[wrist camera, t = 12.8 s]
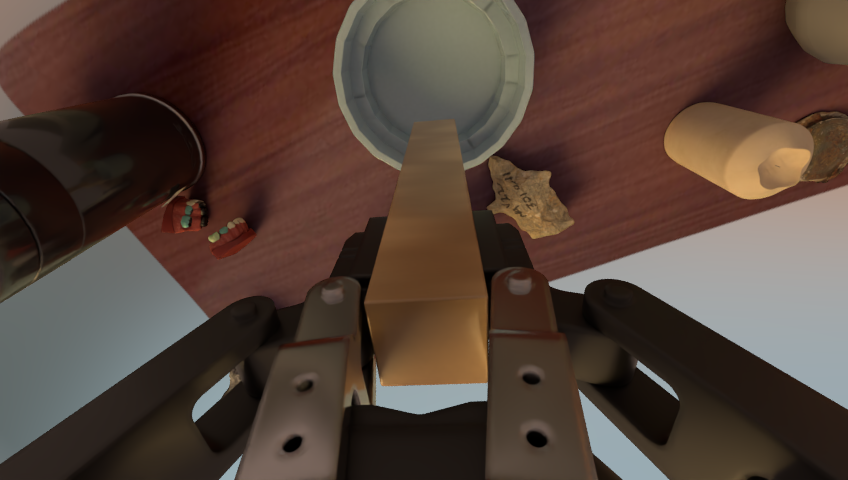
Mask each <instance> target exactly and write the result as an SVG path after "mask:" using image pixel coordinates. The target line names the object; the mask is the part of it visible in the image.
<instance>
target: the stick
mask: <svg viewBox="0 0 848 480" xmlns="http://www.w3.org/2000/svg"><path fill="white" fill-rule="evenodd" d="M364 306H365V311H366V316H367V320H368V325H369V330H370V335H371V340H372V344H373V349H374V354H375V359H376V363H377V368H378V373H379V378H380V382H381V385H382V386H406V385H435V384H436V385H438V384H469V383H487V382H488V364H489V342H488V340H489V334H488V293H487V287H486V282H485V277H484V272H483V266H482V261H481V256H480V250H479V245H478V240H477V234H476V229H475V224H474V219H473V213H472V208H471V203H470V197H469V192H468V187H467V181H466V176H465V171H464V166H463V160H462V155H461V150H460V144H459V139H458V134H457V128H456V123H455V119H446V120H434V121H422V122H414V123H413V127H412V131H411V134H410V138H409V142H408V145H407V149H406V152H405V156H404V160H403V163H402V167H401V171H400V174H399V178H398V181H397V185H396V189H395V192H394V196H393V199H392V203H391V207H390V210H389V214H388V218H387V221H386V225H385V228H384V232H383V236H382V239H381V243H380V247H379V250H378V254H377V257H376V261H375V265H374V268H373V272H372V275H371V279H370V283H369V286H368V290H367V294H366V297H365V301H364Z"/></svg>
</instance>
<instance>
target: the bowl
mask: <svg viewBox="0 0 848 480" xmlns="http://www.w3.org/2000/svg"><path fill="white" fill-rule="evenodd" d="M534 58H535V54H534V49H533V45H532V41H531V37H530V33H529V29H528V25H527V21H526V19H525V17H524V15H523V14H522V12H521V10H520V9H519V7H518V6H517V4H516V3H515V1H514V0H354V1H353V2H352V3H351V6H349V9H348V11H347V13H346V16H345V18H344V21H343V23H342V25H341V28H340V30H339V33H338V35H337V39H336V44H335V55H334V65H333V78H334V83H335V88H336V93H337V99H338V104H339V107H340V109H341V111H342V113H343V115H344V117H345V119H346V121H347V123H348V125H349V127H350V129H351V131H352V133H353V134H354V135H355V137H356V138H357V139H358V140H359V141H360V142H361V143H362V144H363V145H364V146H365V147H366V148H367V149H368V150H369V151H370V152H371V154H372V155H373V156H375V157H377V158H378V159H380V160H382V161H383V162H385V163H387V164H389V165H390V166H392V167H394V168H396V169H397V170H400V171H401V167H402V163H403V160H404V156H405V152H406V149H407V145H408V142H409V138H410V134H411V131H412V127H413V123H414V122H422V121H434V120H446V119H455V123H456V128H457V134H458V139H459V144H460V150H461V155H462V160H463V166H464V170H467V169H469V168H472V167H474V166H477V165H479V164H481V163H482V162H484V161H485V160H486V159H488V158H489V157H490V156H491V155H493V154H494V153H495V152H496V151H498V150H499V149H500V148H502V147H503V146H504V145H505V143H506V142H507V141H508V139H509V138H510V136H511V135H512V134H513V132H514V131H515V129H516V128H517V127H518V125H519V124H520V122H521V121H522V119H523V116H524V113H525V110H526V107H527V104H528V102H529V99H530V96H531V93H532V90H533V79H534Z"/></svg>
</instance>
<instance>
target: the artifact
mask: <svg viewBox="0 0 848 480" xmlns="http://www.w3.org/2000/svg"><path fill="white" fill-rule="evenodd" d="M488 166H489V169H490V171H491V178H492V180H493V185H492V188H493V190H494V191H495V198H496V199H495V201H494V202H492V203H491V204H490V205H489V206H488V207H487V209H488V210H492V212H493V214H497V213H499V212H502V213H505V214H507V215H508V216H511V217H513V218H514V219H515V220H516V221H517V224H518V226H519V227H520V229H521V230H524V231H526V232H528V233H529V235H530V236H531V238H532V239H535V238H540V237H544V236H550V235H555V234H558V233H559V232H562V231H563V230H565V229H566V228H568V227H570V226H571V225H573V224H574V220H573V219H572V218H570V217H569V215H568V211H567V208H566V207H565V206H564V205H563V204H562V203H561V202H560V200H559V198H558V197H557V196H556V192H555V191H554V190H553V189H552V188H551V187H550V186H549V179H550V177H551V172H550V171H533V170H529V171H523V170H521V169H519V168H517V167H515V166H514V165H513V164H512V163H511V162H510V161H509V160H504V159H502V158H500V157H499V156H493V155H491V156H490V158H489V163H488Z"/></svg>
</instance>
